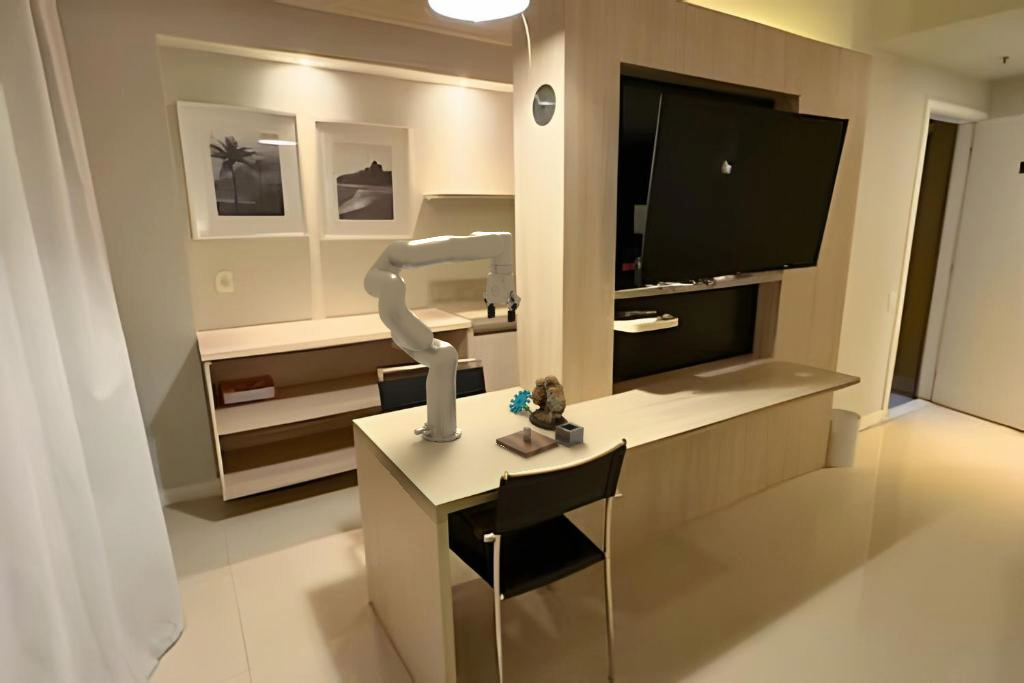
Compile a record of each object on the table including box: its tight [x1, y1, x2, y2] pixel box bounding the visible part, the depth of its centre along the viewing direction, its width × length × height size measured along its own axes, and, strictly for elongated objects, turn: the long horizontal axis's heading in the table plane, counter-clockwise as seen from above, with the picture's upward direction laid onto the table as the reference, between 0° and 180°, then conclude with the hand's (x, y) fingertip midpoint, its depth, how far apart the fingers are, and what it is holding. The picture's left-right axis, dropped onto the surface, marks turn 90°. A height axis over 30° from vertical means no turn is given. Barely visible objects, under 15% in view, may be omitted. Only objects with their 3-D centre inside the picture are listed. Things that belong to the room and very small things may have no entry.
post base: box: [495, 426, 559, 459], centre depth 175 cm, size 14×14×6 cm
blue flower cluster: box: [508, 389, 534, 414], centre depth 206 cm, size 11×6×10 cm
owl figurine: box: [528, 374, 569, 432], centre depth 194 cm, size 18×12×17 cm, turn 34°
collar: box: [554, 421, 585, 448], centre depth 178 cm, size 6×6×5 cm
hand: (501, 319), depth 190 cm, fingers open, 9 cm apart
